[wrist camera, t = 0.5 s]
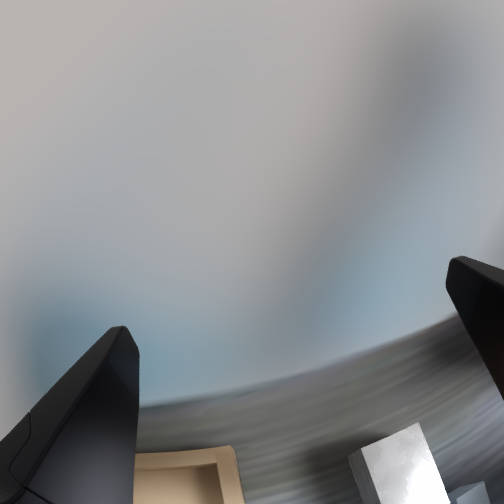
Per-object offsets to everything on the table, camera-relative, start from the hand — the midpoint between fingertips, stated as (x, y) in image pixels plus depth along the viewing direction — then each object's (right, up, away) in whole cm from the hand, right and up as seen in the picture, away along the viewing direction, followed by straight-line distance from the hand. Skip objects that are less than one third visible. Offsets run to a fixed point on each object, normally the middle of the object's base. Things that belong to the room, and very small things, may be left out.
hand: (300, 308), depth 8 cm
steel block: (+8, -16, +6) cm, 19 cm away
